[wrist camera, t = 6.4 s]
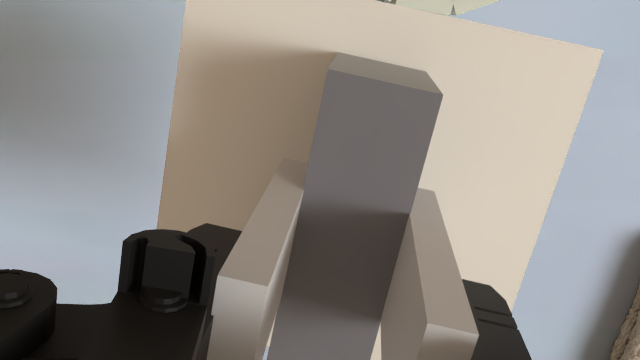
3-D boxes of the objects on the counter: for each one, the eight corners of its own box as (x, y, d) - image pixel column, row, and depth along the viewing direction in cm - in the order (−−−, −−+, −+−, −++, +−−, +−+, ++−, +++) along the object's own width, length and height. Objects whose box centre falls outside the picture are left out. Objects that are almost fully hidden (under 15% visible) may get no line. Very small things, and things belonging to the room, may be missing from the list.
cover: (158, 299, 20) (86, 400, 15) (204, -37, 16) (130, -54, 11) (474, 373, 19) (509, 500, 15) (587, 46, 16) (682, 67, 11)
